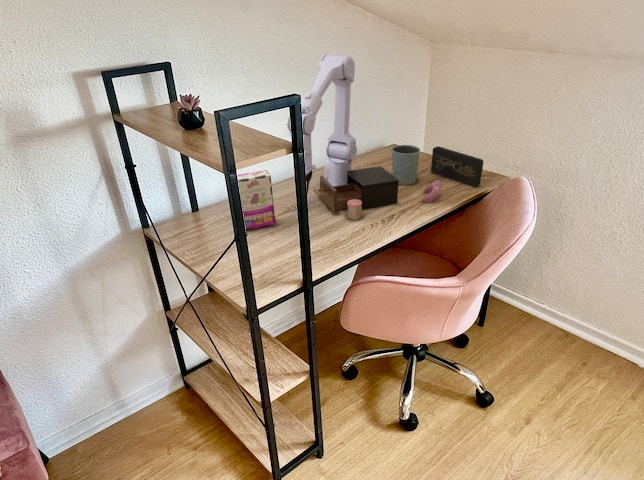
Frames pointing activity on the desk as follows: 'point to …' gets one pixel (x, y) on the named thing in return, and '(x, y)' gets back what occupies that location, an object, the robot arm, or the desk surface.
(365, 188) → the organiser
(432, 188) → the pink curved piece
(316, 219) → the desk surface
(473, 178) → the nameplate
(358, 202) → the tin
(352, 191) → the drawer
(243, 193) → the candy bar box
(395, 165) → the green cup
